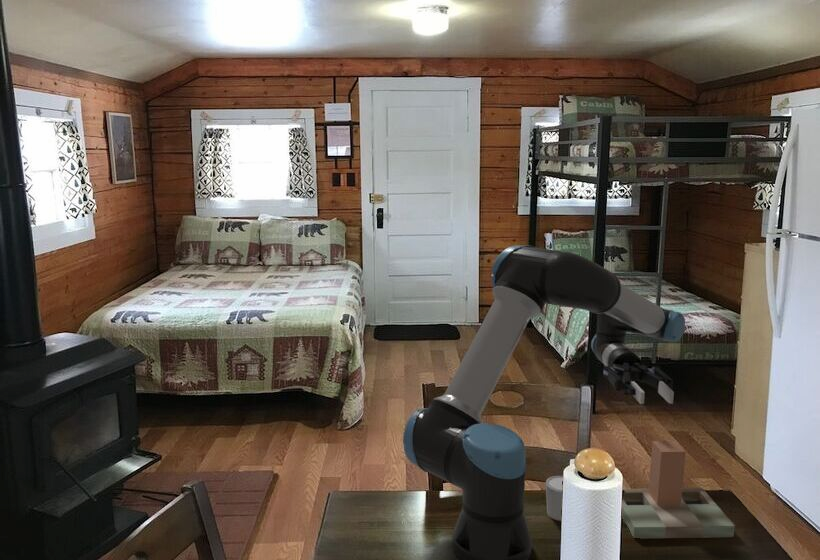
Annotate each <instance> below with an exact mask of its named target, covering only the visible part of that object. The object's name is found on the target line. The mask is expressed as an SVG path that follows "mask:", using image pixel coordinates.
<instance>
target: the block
mask: <svg viewBox="0 0 820 560" xmlns="http://www.w3.org/2000/svg"><path fill="white" fill-rule="evenodd" d="M651 442H652V443H651V453H650V456H651V457H650V464H649V465H650V467H649V477H648V478H649V479H648V488H647V489H648V493H649V494H650V496H651V497H652V499H653V500H654V501H655V503H656V504H657V505H681V496H682V488H683V483H684V473H685V472H684V471H685V462H686V453H687V452H686V450H685V449H684V448H683V446H682V445H680V444H679V442H677V440H652V441H651Z"/></svg>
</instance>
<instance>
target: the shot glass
mask: <svg viewBox="0 0 820 560" xmlns="http://www.w3.org/2000/svg"><path fill="white" fill-rule="evenodd" d="M562 481H563V475H554V476H550V477H548V478H547V479H546V481H545V495H546V496H545V499H546V514H547V515H548V516H549V517H550V519H553V520H555V521H559V522H562V521H561V509H562Z"/></svg>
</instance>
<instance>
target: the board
mask: <svg viewBox="0 0 820 560" xmlns="http://www.w3.org/2000/svg"><path fill="white" fill-rule="evenodd" d="M622 489H623V490H624V491H625V493H624V496H623V500H622V518H621V520H622V519H623V520H622V522H623V523H624V522H625V523H624V525H625V524H626V525H627V527H628V528H629V530H630V532H631V533H630V532H629V533H630V535H631V534H632V535H631V537H632V536H633V537H634V538H640V539H686V538H687V539H689V538H690V539H695V538H700V539H701V538H705V539H706V538H734V535H735V526H736V525H735V524H734V523H733V521H731V519H730V518H729V517H728V516H727V515H726V513H725V512H723V510H722V509H721V507H720V506H718V504H717V503H716V502H715V501H714V500H713V499H712V497H711V496H710V495H709V494H708V493H707V492H706V490H705V489H704V488H702V487H682V496H681V505H657V504H656V503H655V501H654V500H653V499H652V497H651V496H650V494H649V493H648V488H622ZM626 525H625V526H626ZM627 527H626V528H627ZM628 528H627V529H628ZM629 530H628V531H629ZM633 537H632V538H633ZM634 538H633V539H634Z"/></svg>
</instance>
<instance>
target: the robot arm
mask: <svg viewBox="0 0 820 560" xmlns="http://www.w3.org/2000/svg"><path fill="white" fill-rule="evenodd" d="M491 273H492V274H491V276H490V279H491V285H492V291H491V293H492V296H493V298H494V301H493V302H492V304H491V306H490V308H489V310H488V311H487V314H486V316H485V317H484V318H483V321H482V323H481V324H480V327H479V328H478V330H477V332H476V334H475V336H474V338H473V339H472V341H471V342H470V346H469V348H468V350H466V353H465V354H464V357H463V359H462V360H461V362H460V364H459V366H458V368H457V370H456V372H455V374H454V375H453V377H452V379H451V381H450V383H449V384H448V387H447V389H446V390H445V392H444V394H442V395H441V396H438V397H434V398H433V399H432V401H431V403H430V404H429V406H428V407H425V408H420V409H418V410H417V411H414V412H413V413H412V414H411V416H410V417H409V418H408V420H407V421H406V424H405V427H404V430H403V435H402V444H403V452H404V453H405V456H406V458H407V459H408V461H409V462H410V463H411V464H412V465H414V466H416V467H417V468H419V469H420V470H422V471H423V472H424V473H429V474H431V475H433V476H435V477H437V478H439V479H440V480H442V481H446V482H447V483H450V485H453V486H455V487H458V488H459V489H461V491H462V507H461V510H460V513H459V516H458V519H457V522H456V524H455V527H454V529H453V533H452V548H453V551H454V554H455V555H456V556H457V557H458V558H459V560H529V558H530V556H531V554H532V541H533V539H532V535H531V532H530V530H529V526H528V523H527V520H526V516H525V514H524V507H525V505H524V504H525V490H526V489H525V488H526V487H525V486H526V470H527V459H526V447H525V443H524V441H523V439H522V438H521V437H520V436H519V434H518V433H517V432H515V431H514V430H512V429H510V428H509V427H506V426H503V425H501V424H497V423H494V424H491V423H489V422H488V423H487V422H486V423H485V422H483V419H482V413H483V411H484V410H485V407H486V405H487V403H488V402H489V399H490V397H491V395H492V394H493V392H494V389H495V387H496V386H497V383H498V382H499V379H500V378H501V376H502V374H503V372H504V370H505V368H506V367H507V364H508V362H509V361H510V358H511V356H512V355H513V353H514V350H515V348H516V347H517V344H518V343H519V341H520V339H521V337H522V335H523V333H524V331H525V329H526V327H527V326H528V323H529V321H530V320H531V318H532V319H533V318H535V317H539V316H540V315H541V313H542V312H543V310H544V307H545V306H546V305H547V304H548V305H553V306H557V307H558V306H559V307H564V308H570V309H571V308H572V309H580V310H584V311H588V312H589V313H590V312H591V313H592V314H597V318H596V321H597V322H596V332H595V335H594V336H593V338H592V340H591V342H590V343H591V345H590V348H591V351H592V352H593V354H594V355H595V357H596V359H598V360H599V361H600V362H601V363H602V364H603V375H602V376H603V377H604V378H605V379H607V380H608V382H609V383H610V384H611V386H612V387H613V388H614V390H615V391H617V392H620V391H621V392H622V390H623V394H624V396H625V395H626V396H633V397H634V399H635V400H636V401H637V402H638V403H639V404H640V405H644V404H645V391H644V389H642V388H641V387H640V386H639V384H638V383H636V381H637V382H640V383H642V384H644V383H645V384H647V385H648V386H650V387H653V388H655V389H656V390H657V393H658V394H659V395H660V396H661V397H662V398H663V399H664V400H665V401H666V402H667V403H668V404H672V405H673V404H674V396H675V395H674V394H675V391H673V385H674V383H673V382H674V379H673V378H671V377H670V376H669V375H668V374H667V373H665V372H664V371H663V370H661V368H660V366H659V365H653V367H652V368H648V366H647V365H645V364H643V362H642V360H641V359H640V357H639V356H638V355H637V353H635V352H634V351H632V349H631V348H630V347H628V346H627V345H626V337H627V333H632V334H636V335H641V336H645V337H650V338H653V339H658V340H661V341H664V342H665V341H666V342H667V341H668V342H672V343H675V342H678V341H679V340H681V338H682V337H683V334H684V332H685V327H686V319H685V315H684V314H683V313H682V312H679V311H676V310H675V311H674V310H673V309H667V308H663V307H662V306H659V305H658V304H656V303H654V302H652V301H651V300H649V299H647V298H646V297H644V296H642V295H641V294H639V293H637V291H634V290H633V289H630V288H629V287H628V286H626V285H624V284H622V283H621V281H620V279H619V278H618V277H617V275H616V274H614V273H613V272H611V270H610V271H609V270H608V269H607V268H605V267H603V266H601V265H600V264H598V263H596V262H594V261H592V260H591V259H589V258H587V257H584V256H583V255H581V254H580V255H579V254H577V253H574V252H571V251H570V252H569V251H562V250H556V249H549V248H541V247H536V246H533V245H528V244H527V245H525V244H524V245H520V244H518V245H512V246H509V247H506V248H505V249H503V250H502V251H501V252H500V253H499V255H497V257H496V259H495V261H494V262H493V265H492V268H491ZM632 380H633V381H632Z"/></svg>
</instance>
